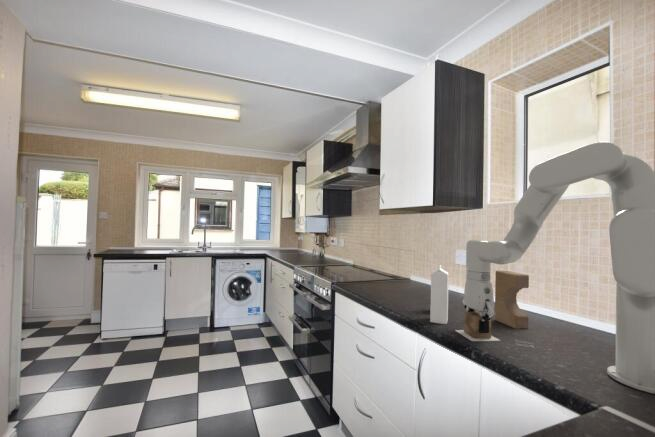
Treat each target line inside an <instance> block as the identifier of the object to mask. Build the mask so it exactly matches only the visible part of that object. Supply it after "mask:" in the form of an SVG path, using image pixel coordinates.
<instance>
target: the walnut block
mask: <svg viewBox="0 0 655 437" xmlns="http://www.w3.org/2000/svg"><path fill="white" fill-rule="evenodd" d="M483 316H485V313H483ZM479 320H481V319H480V315H479V311H475V312H465V311H463V330H464V332H465V333H466V334H468V335H470V336H471V337H473V338H491V336H492V319H491V320H490V321H489V333H480V332H479Z"/></svg>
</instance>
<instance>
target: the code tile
mask: <svg viewBox="0 0 655 437" xmlns="http://www.w3.org/2000/svg"><path fill="white" fill-rule="evenodd" d="M514 342H515V344H514V345H515V346H521V347H526V348H530V349H531V348H532V349H534V348H535V347H534V343H532V342H528V341H522V340H519V339H514ZM520 343H522V344H520ZM524 344H529V345H524Z"/></svg>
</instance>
